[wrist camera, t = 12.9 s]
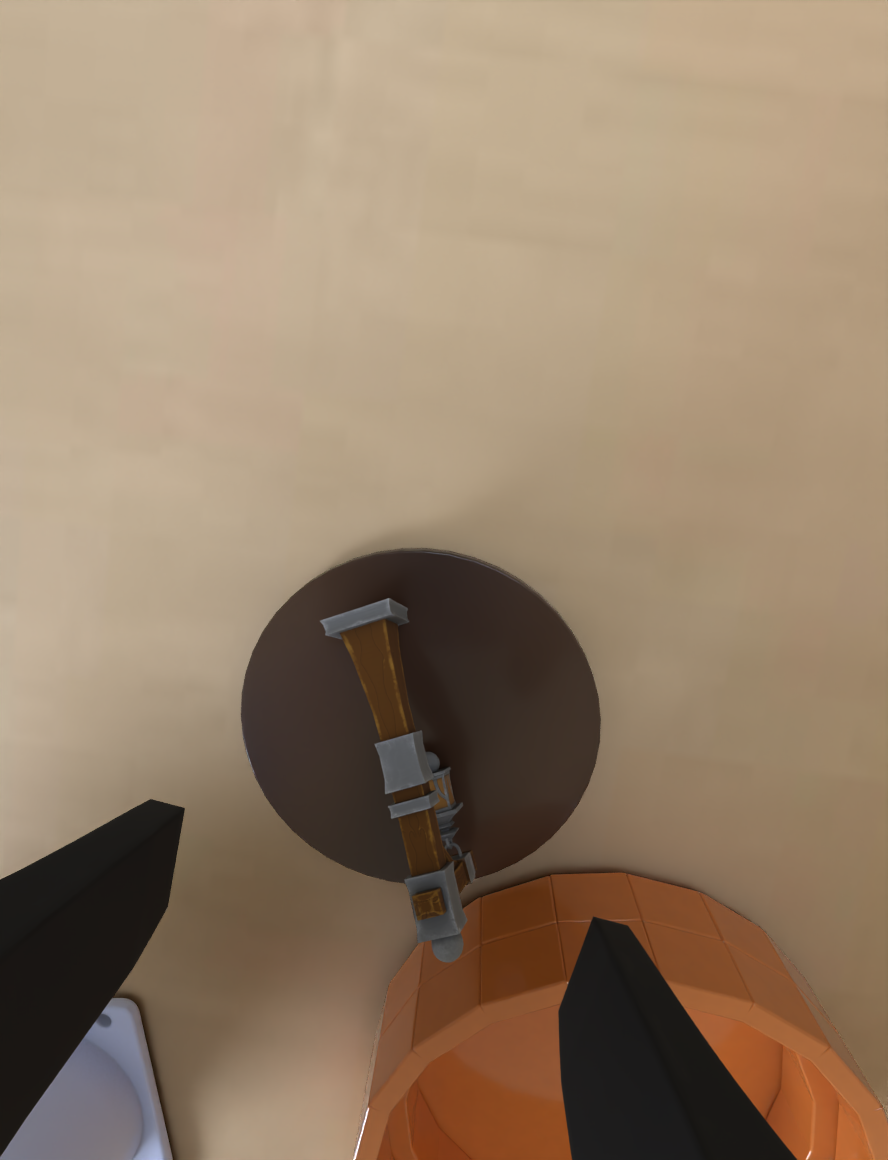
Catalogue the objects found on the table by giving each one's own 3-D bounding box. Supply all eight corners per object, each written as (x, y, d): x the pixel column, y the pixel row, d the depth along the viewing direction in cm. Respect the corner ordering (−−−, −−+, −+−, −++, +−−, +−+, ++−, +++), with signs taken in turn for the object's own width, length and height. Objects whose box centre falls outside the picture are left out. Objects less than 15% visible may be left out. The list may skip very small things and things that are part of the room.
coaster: (272, 880, 19) (267, 889, 18) (220, 561, 16) (213, 563, 16) (602, 871, 18) (605, 881, 17) (593, 534, 16) (595, 537, 15)
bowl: (400, 1209, 21) (381, 1381, 17) (357, 869, 18) (323, 984, 14) (805, 1215, 20) (883, 1401, 16) (827, 856, 17) (927, 976, 13)
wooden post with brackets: (445, 911, 17) (403, 988, 12) (374, 636, 19) (315, 619, 14) (507, 896, 17) (486, 969, 12) (429, 619, 18) (386, 596, 14)
